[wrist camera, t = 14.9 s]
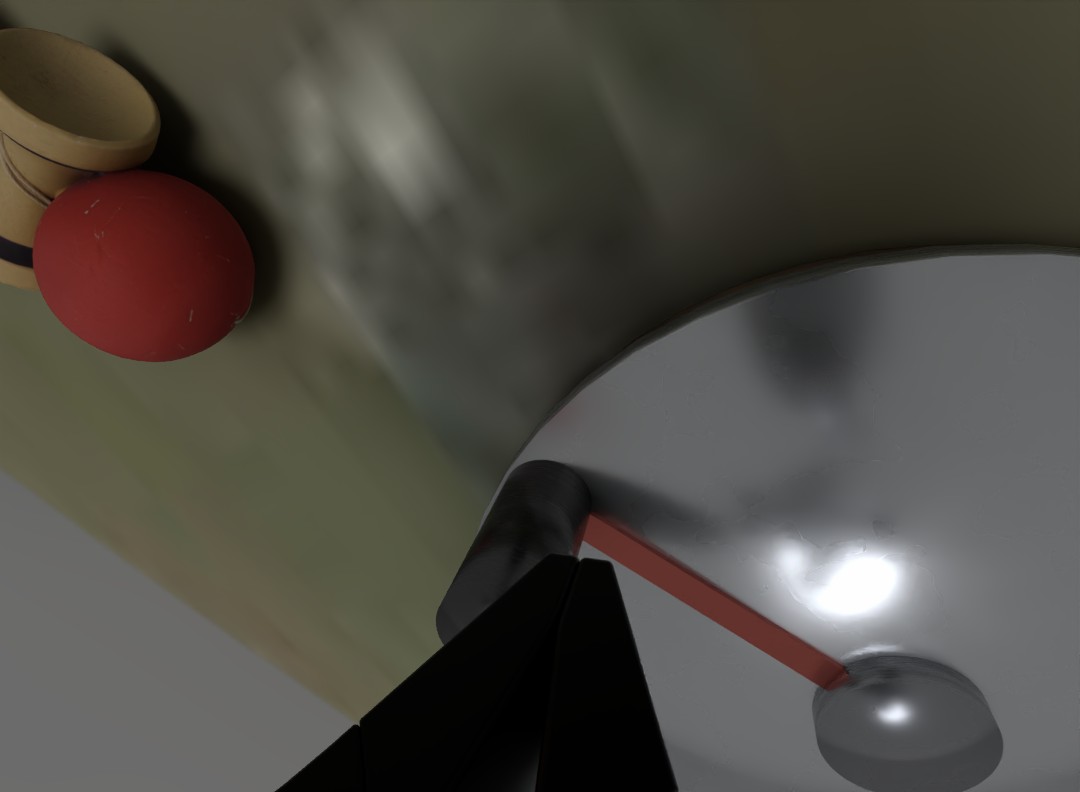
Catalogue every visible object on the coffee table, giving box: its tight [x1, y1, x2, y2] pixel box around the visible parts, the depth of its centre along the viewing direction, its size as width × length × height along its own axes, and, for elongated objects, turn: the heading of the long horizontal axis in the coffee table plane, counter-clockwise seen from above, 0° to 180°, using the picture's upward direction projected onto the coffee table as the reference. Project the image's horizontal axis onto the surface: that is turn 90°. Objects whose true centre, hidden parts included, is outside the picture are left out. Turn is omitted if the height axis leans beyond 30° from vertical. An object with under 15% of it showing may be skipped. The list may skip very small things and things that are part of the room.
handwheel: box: [436, 244, 1080, 792], centre depth 18 cm, size 29×29×7 cm
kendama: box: [0, 28, 255, 362], centre depth 20 cm, size 8×6×18 cm
